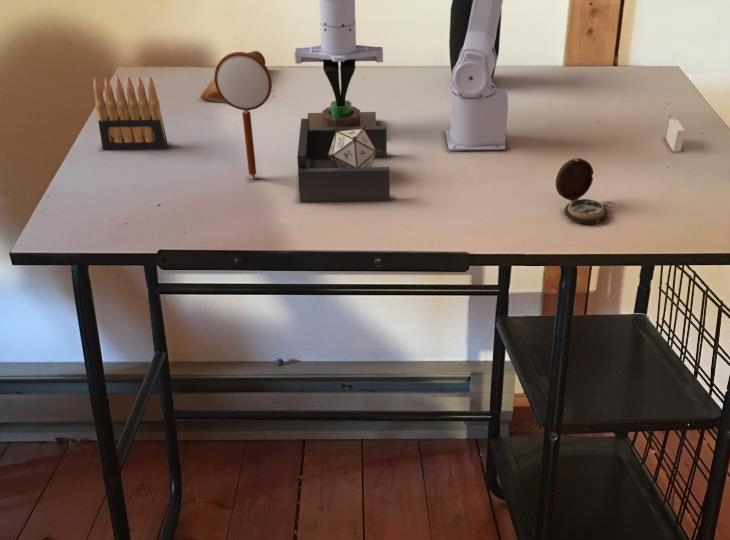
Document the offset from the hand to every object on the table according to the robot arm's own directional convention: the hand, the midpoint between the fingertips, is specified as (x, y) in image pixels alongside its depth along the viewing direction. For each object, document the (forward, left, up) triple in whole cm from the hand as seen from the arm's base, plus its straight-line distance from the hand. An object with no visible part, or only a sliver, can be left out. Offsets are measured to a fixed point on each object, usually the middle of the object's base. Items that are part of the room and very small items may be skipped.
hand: (340, 103), depth 160 cm
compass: (-37, +31, -5) cm, 49 cm away
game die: (-2, +18, -5) cm, 19 cm away
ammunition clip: (+35, +5, -5) cm, 36 cm away
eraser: (-56, +8, -5) cm, 57 cm away
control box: (0, 0, -5) cm, 5 cm away
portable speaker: (-25, -22, -5) cm, 34 cm away
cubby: (-1, +18, -5) cm, 19 cm away
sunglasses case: (+21, -23, -5) cm, 32 cm away
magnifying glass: (+14, +18, -5) cm, 23 cm away
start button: (0, 0, -2) cm, 2 cm away
